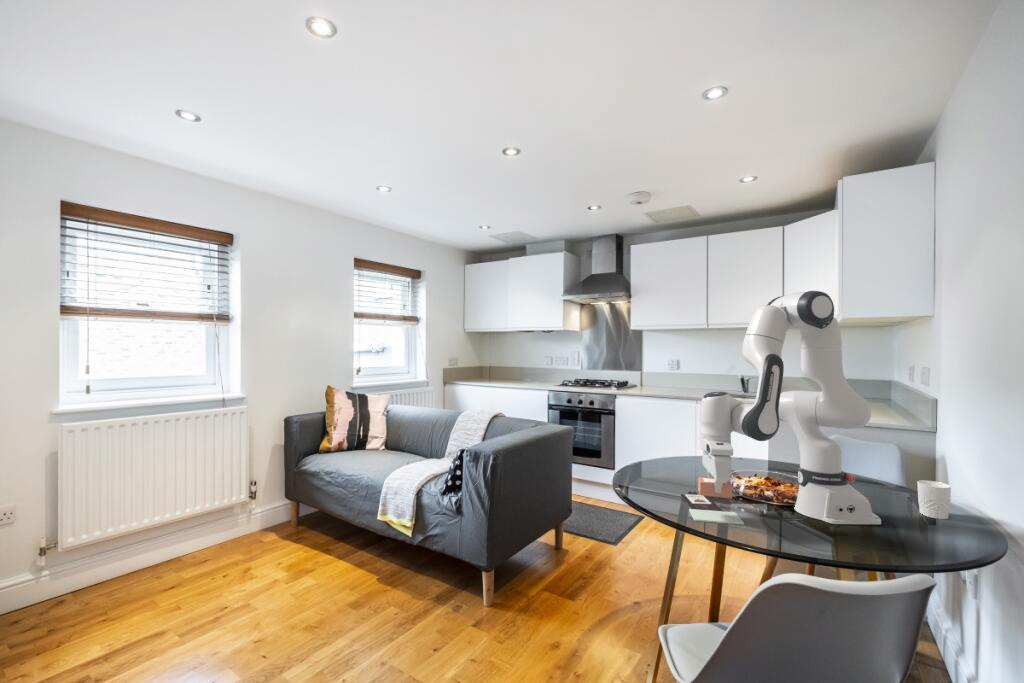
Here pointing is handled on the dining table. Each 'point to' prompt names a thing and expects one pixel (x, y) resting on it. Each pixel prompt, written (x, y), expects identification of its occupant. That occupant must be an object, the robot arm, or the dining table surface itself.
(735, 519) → the mat
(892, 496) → the dining table surface
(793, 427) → the robot arm
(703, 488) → the deck
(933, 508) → the white cup
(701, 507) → the chocolate bar
